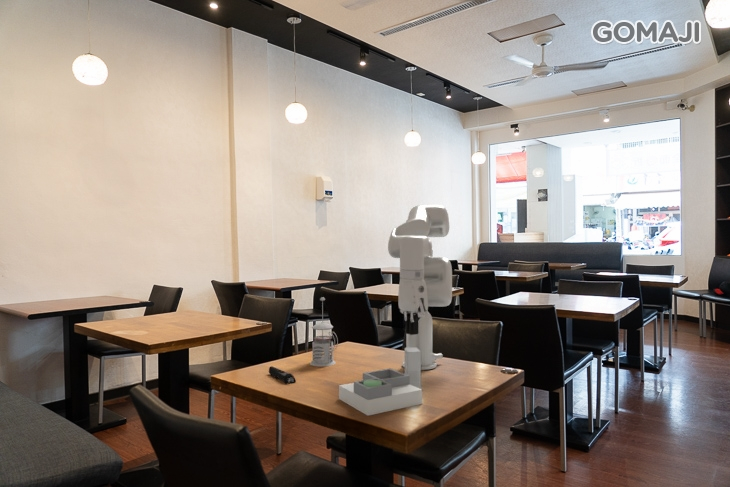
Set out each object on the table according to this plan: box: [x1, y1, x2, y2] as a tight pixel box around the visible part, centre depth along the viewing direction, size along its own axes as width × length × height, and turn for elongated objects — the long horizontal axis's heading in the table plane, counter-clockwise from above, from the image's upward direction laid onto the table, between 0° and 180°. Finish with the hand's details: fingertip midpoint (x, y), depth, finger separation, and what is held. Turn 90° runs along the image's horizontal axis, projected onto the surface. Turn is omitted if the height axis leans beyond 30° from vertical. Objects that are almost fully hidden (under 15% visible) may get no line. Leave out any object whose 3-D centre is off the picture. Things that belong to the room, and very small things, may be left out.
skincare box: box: [404, 347, 422, 389], centre depth 152 cm, size 6×4×12 cm
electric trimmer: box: [268, 365, 297, 385], centre depth 163 cm, size 4×16×3 cm, turn 36°
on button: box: [363, 380, 382, 387], centre depth 133 cm, size 5×5×3 cm
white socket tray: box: [338, 367, 423, 416], centre depth 139 cm, size 18×16×7 cm
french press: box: [309, 296, 339, 367], centre depth 183 cm, size 10×12×25 cm
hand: (412, 333), depth 152 cm, fingers closed
